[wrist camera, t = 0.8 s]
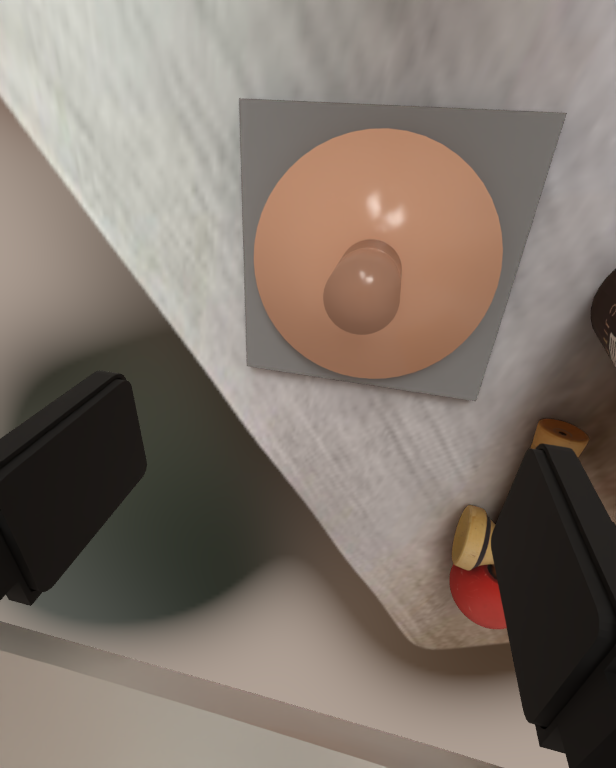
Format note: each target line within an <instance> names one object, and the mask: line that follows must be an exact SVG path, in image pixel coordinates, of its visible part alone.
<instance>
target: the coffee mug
mask: <svg viewBox="0 0 616 768" xmlns="http://www.w3.org/2000/svg"><path fill="white" fill-rule="evenodd" d="M591 321H592V326H593V329H594V331H595V333H596V335H597V337H598V338H599V340H600V342H601V343H602V345H603V347H604V349H605V350H606V352H607V354H608V356H609V357H610V359H611V361H612V362H613V364H614V366H615V368H616V269H615V270H614V271H613V272H612V273H611V274H610V275H609V276H608V277H607V278H606V279H605V281H604V282H603V283H602V285H601V286H600V287H599V289H598V291H597V293H596V295H595V297H594V300H593V304H592V307H591Z"/></svg>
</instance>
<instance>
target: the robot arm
mask: <svg viewBox="0 0 616 768" xmlns="http://www.w3.org/2000/svg"><path fill="white" fill-rule="evenodd" d="M146 466H147V462H146V456H145V451H144V446H143V442H142V437H141V431H140V426H139V421H138V416H137V411H136V406H135V402H134V396H133V391H132V386H131V384H130V383H129V382H128V381H126V378H125V377H124V375H122V374H119V373H112V372H106V371H96V372H94V373H93V374H91V375H90V376H89V377H87V378H86V379H84V380H83V381H81V382H80V383H79V384H77V385H76V386H74V387H73V388H72V389H70V390H69V391H67V392H66V393H65V394H63V395H62V396H60V397H59V398H57V399H56V400H55V401H53V402H52V403H50V404H49V405H47V406H46V407H45V408H44V409H42V410H40V411H39V412H38V413H36V414H35V415H33V416H32V417H30V418H29V419H28V420H26V421H25V422H24V423H22V424H21V425H19V426H18V427H16V428H15V429H14V430H12V431H11V432H9V433H8V434H6V435H5V436H4V437H2V438H1V439H0V600H1V599H2V598H3V597H4V596H5V595H7V597H8V599H9V600H12V601H16V602H19V603H23V604H26V605H30V606H31V605H32V604H33V603H34V602H35V600H36V599H37V598H38V597H39V596H40V594H41V593H42V592H45V591H48V590H49V589H50V588H52V587H53V586H54V584H55V583H56V582H57V581H58V580H59V578H60V577H61V576H62V575H63V573H64V572H65V571H66V570H67V568H68V567H69V566H70V565H71V564H72V562H73V561H74V560H75V559H76V558H77V556H78V555H79V554H80V552H81V551H82V550H83V549H84V548H85V547H86V545H87V544H88V543H89V542H90V540H91V539H92V538H93V537H94V536H95V534H96V533H97V532H98V531H99V529H100V528H101V527H102V526H103V525H104V523H105V522H106V521H107V520H108V518H109V517H110V516H111V515H112V513H113V512H114V511H115V510H116V509H117V507H118V506H119V505H120V504H121V503H122V501H123V500H124V499H125V498H126V496H127V495H128V494H129V493H130V492H131V490H132V489H133V488H134V487H135V485H136V484H137V483H138V482H139V481H140V479H141V478H142V477H143V475H144V473H145V471H146ZM491 551H492V556H493V561H494V566H495V571H496V576H497V581H498V586H499V591H500V596H501V601H502V606H503V611H504V616H505V621H506V626H507V631H508V636H509V641H510V646H511V651H512V657H513V662H514V667H515V672H516V677H517V682H518V687H519V692H520V697H521V702H522V707H523V711H524V715H525V717H526V719H527V721H528V722H529V723H532V724H535V726H536V731H537V736H538V740H539V745H540V747H543V748H547V749H551V750H554V751H558V752H561V753H565V754H566V757H567V761H568V765H569V768H616V525H615V524H614V523H613V522H612V521H611V519H610V517H609V515H608V513H607V511H606V510H605V508H604V506H603V504H602V502H601V500H600V498H599V497H598V495H597V493H596V491H595V489H594V487H593V485H592V483H591V482H590V480H589V478H588V476H587V474H586V472H585V470H584V469H583V467H582V465H581V463H580V461H579V459H578V457H577V455H576V454H575V452H574V451H573V449H571V448H568V447H562V446H555V445H549V444H543V443H541V444H539V445H538V446H537V447H536V449H532V448H530V449H528V450H527V452H526V453H525V456H524V458H523V460H522V463H521V465H520V468H519V470H518V472H517V475H516V477H515V480H514V482H513V484H512V487H511V489H510V491H509V494H508V496H507V499H506V501H505V503H504V506H503V508H502V511H501V513H500V515H499V518H498V520H497V522H496V525H495V527H494V530H493V532H492V536H491ZM0 768H502V767H499V766H496V765H493V764H490V763H486V762H483V761H480V760H477V759H474V758H470V757H467V756H464V755H461V754H458V753H454V752H451V751H448V750H445V749H442V748H438V747H435V746H432V745H428V744H425V743H422V742H418V741H414V740H411V739H408V738H405V737H401V736H398V735H394V734H391V733H387V732H384V731H381V730H377V729H374V728H370V727H367V726H364V725H360V724H357V723H353V722H350V721H347V720H343V719H340V718H336V717H333V716H329V715H326V714H323V713H319V712H316V711H312V710H309V709H305V708H302V707H298V706H295V705H292V704H288V703H285V702H282V701H278V700H275V699H271V698H268V697H264V696H261V695H258V694H254V693H251V692H247V691H244V690H240V689H237V688H233V687H230V686H226V685H222V684H219V683H216V682H212V681H209V680H205V679H202V678H198V677H195V676H192V675H188V674H184V673H181V672H177V671H174V670H171V669H167V668H163V667H160V666H157V665H153V664H149V663H146V662H142V661H139V660H136V659H132V658H129V657H125V656H121V655H118V654H115V653H111V652H107V651H104V650H101V649H97V648H94V647H90V646H86V645H83V644H79V643H75V642H72V641H69V640H65V639H62V638H58V637H54V636H51V635H47V634H44V633H40V632H37V631H33V630H30V629H26V628H22V627H19V626H15V625H12V624H8V623H5V622H1V621H0Z"/></svg>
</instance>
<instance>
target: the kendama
mask: <svg viewBox="0 0 616 768" xmlns="http://www.w3.org/2000/svg"><path fill="white" fill-rule="evenodd" d="M588 441H589V437H588V435H587V434H586V433H585V432H584V431H582V430H581V429H579V428H578V427H576V426H574V425H572V424H569V423H567V422H564V421H560V420H555V419H541V420H540V421H539V422H538V425H537V428H536V432H535V435H534V438H533V442H532V444H531V447H530V448H532V449H536V447H537V446H538V445H539V444H541V443H543V444H549V445H555V446H562V447H568V448H571V449H573V451H574V452H575V454H576V455H577V457H579V456H580V454H581V453H582V451H583V450H584V448H585V447H586V445H587V443H588ZM494 527H495V524H494V523H493V522H492V521H491V519H490V518H489V517H488V515H487V513H486V511H485V510H484V509H482V508H479V507H476V506H473V505H468V506H467V507H466V508H465V509H464V511H463V513H462V515H461V517H460V519H459V522H458V525H457V528H456V532H455V536H454V541H453V547H452V561H453V566H452V568H451V572H450V590H451V593H452V596H453V599H454V601H455V603H456V605H457V606H458V608H459V609H460V610H461V612H462V613H463V614H464V615H465V616H466V617H468V618H469V619H470V620H471V621H473V622H474V623H476V624H478V625H480V626H483V627H485V628H490V629H504V628H507V626H506V621H505V616H504V611H503V606H502V601H501V596H500V591H499V586H498V581H497V576H496V571H495V566H494V561H493V556H492V551H491V536H492V532H493V530H494Z"/></svg>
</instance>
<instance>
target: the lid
mask: <svg viewBox="0 0 616 768" xmlns="http://www.w3.org/2000/svg"><path fill="white" fill-rule="evenodd" d="M502 256H503V244H502V232H501V227H500V222H499V217H498V214H497V211H496V208H495V206H494V203H493V200H492V198H491V196H490V194H489V192H488V191H487V189H486V187H485V185H484V183H483V182H482V181H481V179H480V178H479V177H478V175H477V174H476V173H475V171H474V170H473V169H472V168H471V167H470V166H469V165H468V164H467V163H466V162H465V161H464V160H463V159H462V158H461V157H460V156H459V155H457V154H456V153H455V152H453V151H452V150H450V149H449V148H447V147H446V146H444V145H443V144H441V143H439V142H437V141H435V140H432V139H430V138H428V137H426V136H423V135H420V134H416V133H413V132H410V131H405V130H397V129H390V128H382V129H365V130H360V131H354V132H350V133H347V134H344V135H341V136H338V137H335V138H332V139H330V140H328V141H326V142H324V143H322V144H320V145H318V146H317V147H315V148H314V149H312V150H311V151H309V152H308V153H307V154H305V155H304V156H302V157H301V158H300V159H299V160H298V161H297V162H296V163H295V164H294V165H292V166H291V167H290V168H289V169H288V171H287V172H286V173H285V174H284V175H283V177H282V178H281V179H280V180H279V181H278V183H277V184H276V186H275V188H274V189H273V191H272V192H271V194H270V196H269V197H268V200H267V202H266V204H265V206H264V209H263V211H262V213H261V217H260V220H259V223H258V226H257V231H256V237H255V243H254V270H255V278H256V283H257V288H258V291H259V294H260V297H261V300H262V303H263V305H264V308H265V310H266V312H267V314H268V316H269V318H270V319H271V321H272V322H273V324H274V326H275V327H276V329H277V330H278V331H279V332H280V334H281V335H282V336H283V337H284V339H285V340H286V341H287V342H288V343H289V344H290V345H291V346H292V347H293V348H294V349H296V350H297V351H298V352H299V353H301V354H302V355H303V356H304V357H306V358H307V359H309V360H311V361H312V362H314V363H316V364H317V365H319V366H322V367H324V368H326V369H328V370H330V371H333V372H336V373H339V374H342V375H347V376H352V377H357V378H368V379H381V378H391V377H399V376H402V375H406V374H410V373H414V372H416V371H419V370H422V369H424V368H427V367H429V366H430V365H432V364H434V363H436V362H438V361H440V360H441V359H443V358H444V357H446V356H447V355H449V354H450V353H452V352H453V351H454V350H455V349H456V348H458V347H459V346H460V345H461V344H462V343H463V342H464V341H465V340H466V339H467V338H468V337H469V336H470V335H471V334H472V332H473V331H474V330H475V329H476V327H477V326H478V325H479V323H480V322H481V320H482V319H483V317H484V316H485V314H486V312H487V310H488V308H489V306H490V304H491V302H492V300H493V297H494V295H495V292H496V289H497V286H498V282H499V278H500V273H501V269H502Z"/></svg>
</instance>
